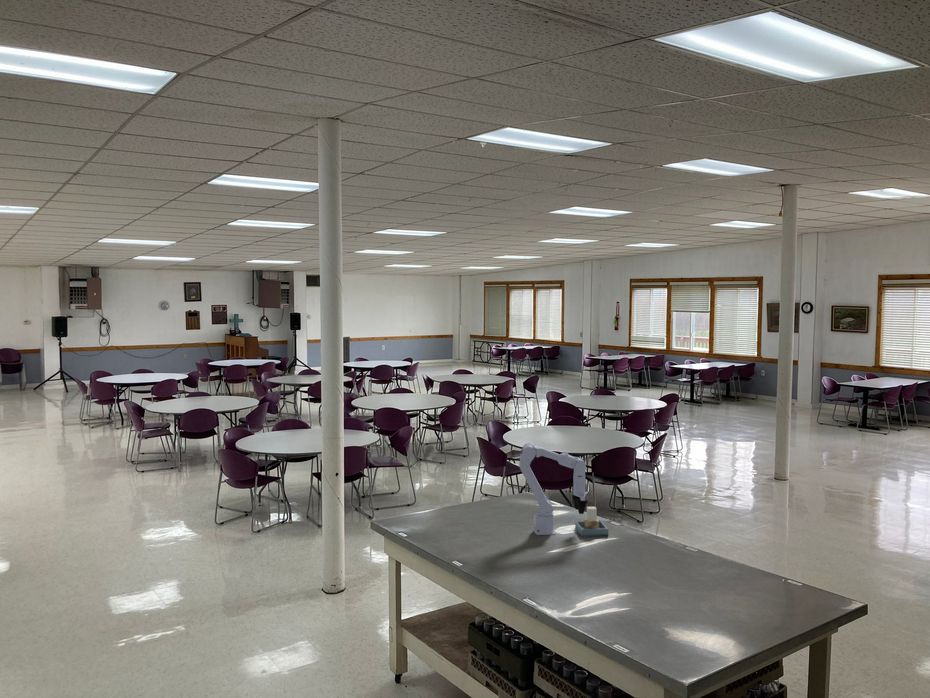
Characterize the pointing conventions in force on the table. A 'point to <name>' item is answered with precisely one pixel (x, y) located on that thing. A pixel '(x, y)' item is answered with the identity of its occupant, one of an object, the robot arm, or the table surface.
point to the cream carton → (591, 514)
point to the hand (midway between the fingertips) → (579, 511)
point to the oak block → (591, 524)
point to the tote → (591, 530)
